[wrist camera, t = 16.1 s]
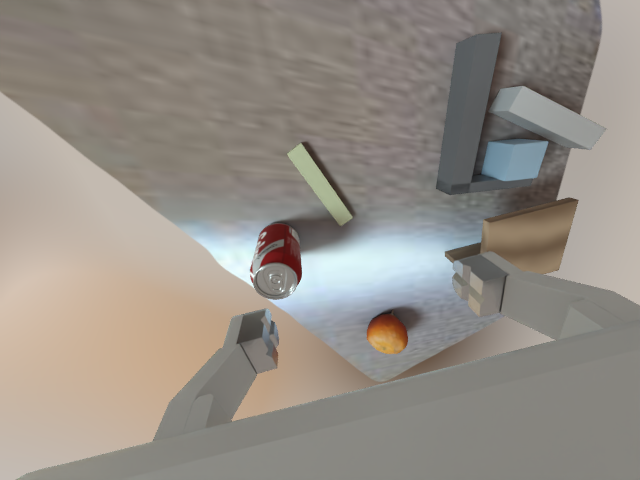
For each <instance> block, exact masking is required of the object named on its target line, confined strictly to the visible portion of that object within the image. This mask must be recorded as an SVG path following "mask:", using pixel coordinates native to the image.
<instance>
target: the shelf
mask: <svg viewBox="0 0 640 480" xmlns="http://www.w3.org/2000/svg"><path fill="white" fill-rule="evenodd" d="M577 204H578V200H576V199H573V198H565V199H561V200H558V201H554V202H550V203H546V204H542V205H538V206H534V207H530V208H526V209H522V210H519V211H515V212H511V213H507V214H503V215H499V216H495V217H491V218H487V219H484V220H483V230H482V240H481V243H477V244H473V245H469V246H465V247H461V248H457V249H454V250H450V251H446V252H445V257H447V258H448V259H449V260H450V261H451V262H452V263H454V261H456V260H460V259H464V258H467V257H471V256H475V255H478V254H481V253H485V252H489V251H491V252H494V253H496V254H497V255H499V256H500V257H502V258H503V259H505V260H506V261H508V262H510V263H511V264H513V265H514V266H516V267H517V268H519V269H520V270H522V271H523V272H525V271H530V272H535V273H539V274H546V273H550V272H553V271H557V270H559V267H560V264H561V260H562V256H563V253H564V249H565V246H566V243H567V239H568V235H569V232H570V229H571V225H572V221H573V218H574V214H575V211H576V207H577Z"/></svg>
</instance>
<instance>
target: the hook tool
mask: <svg viewBox="0 0 640 480" xmlns="http://www.w3.org/2000/svg"><path fill="white" fill-rule="evenodd" d="M500 38H501V33H490V34H477V35H475V36H472V37H470V38H468V39H466V40H463V41H461V42H459V43H457V44H456V51H455V58H454V65H453V72H452V79H451V86H450V93H449V100H448V107H447V114H446V121H445V128H444V136H443V143H442V150H441V157H440V164H439V171H438V178H437V185H436V189H439V190H441V191H443V192H445V193H447V194H449V195H454V194H462V193H471V192H480V191H489V190H497V189H506V188H515V187H524V186H531V183H532V180H533V178H530V179H521V180H512V181H502V180H499V179H495V178H492V177H488V176H485V175H482V174H481V175H473V170H474V165H475V160H476V155H477V150H478V146H479V141H480V136H481V131H482V126H483V121H484V116H485V111H486V107H487V102H488V97H489V92H490V87H491V82H492V77H493V72H494V68H495V63H496V58H497V53H498V48H499V43H500Z"/></svg>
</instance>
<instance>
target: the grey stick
mask: <svg viewBox="0 0 640 480" xmlns="http://www.w3.org/2000/svg"><path fill="white" fill-rule="evenodd" d="M488 112H490V113H492V114H495V115H497V116H499V117H501V118H503V119H505V120H508V121H510V122H512V123H514V124H516V125H518V126H521V127H523V128H525V129H527V130H529V131H531V132H534V133H536V134H538V135H540V136H542V137H545V138H547V139H549V140H551V141H553V142H555V143H558V144H560V145H562V146H564V147H569V148H579V149H587V150H591V149H592V147H593V146H594V145H595V143H596V142H597V141H598V139H599V138H600V137H601V135H602V134H603V133H604V131H605V130H606V128H604V127H602V126H600V125H598V124H596V123H594V122H592V121H591V120H589V119H587V118H585V117H583V116H581V115H579V114H577V113H575V112H573V111H571V110H569V109H567V108H565V107H563V106H561V105H560V104H558V103H556V102H554V101H552V100H550V99H548V98H546V97H544V96H542V95H540V94H538V93H536V92H534V91H532V90H530V89H528V88H527V87H525V86H518V87H510V88H503V89H500V91H499V93H498V94H497V96H496V98H495V100H494V102H493V104H492V105H491V107H490V109H489V111H488Z"/></svg>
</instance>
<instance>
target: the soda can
mask: <svg viewBox="0 0 640 480" xmlns="http://www.w3.org/2000/svg"><path fill="white" fill-rule="evenodd" d="M250 277H251V280H252V282H253V285H254V288H255V290H256V291H257V292H258V293H259V294H260V295H261V296H263V297H265V298H268V299H273V300H277V299H283V298H286V297H288V296H289V295H291V294H292V293H293V292H294V291H295V289H296V287H297V285H298V284H299V282H300V280H301V277H302V267H301V254H300V241H299V236H298V234H297V232H296V231H295V230H294V229H293V228H292V227H291V226H289V225H287V224H283V223H274V224H271V225H268V226H267V227H265V228H264V229H263V230H262V231H261V233H260V235H259V238H258V242H257V246H256V250H255V253H254V257H253V261H252V265H251V269H250Z"/></svg>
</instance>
